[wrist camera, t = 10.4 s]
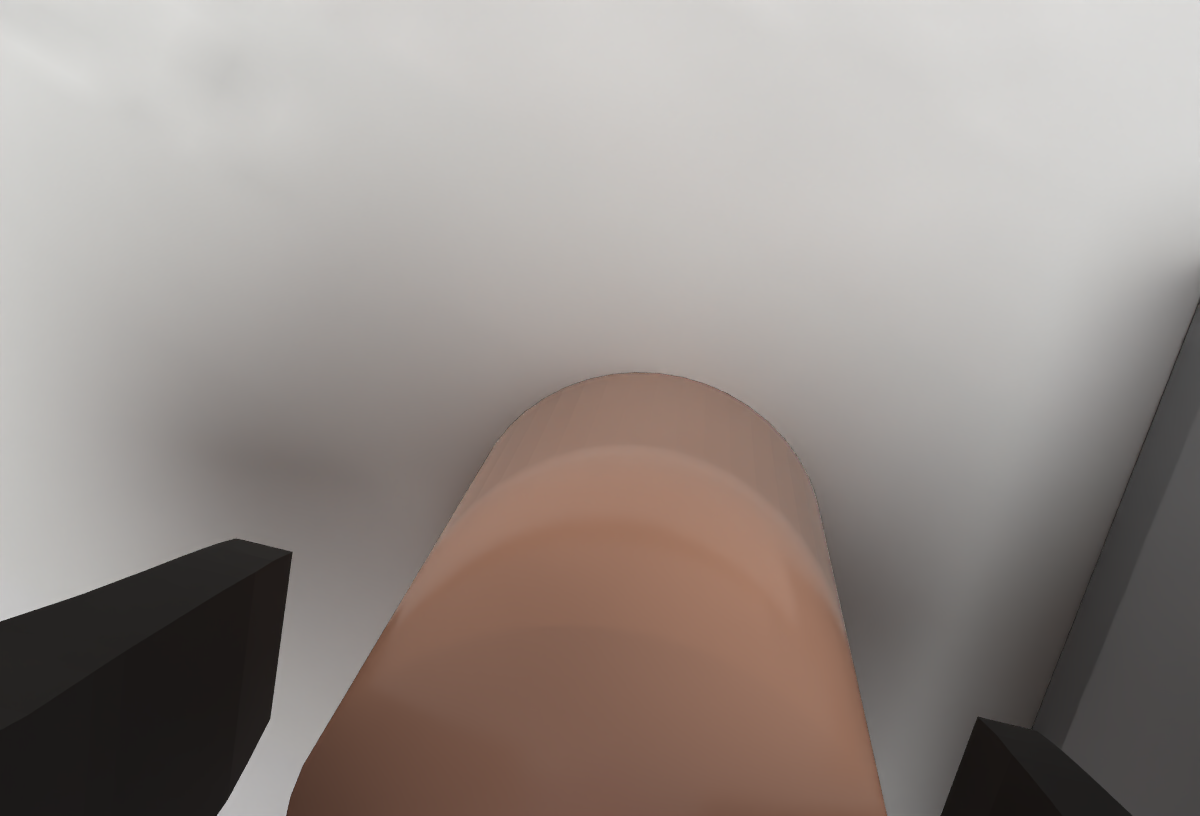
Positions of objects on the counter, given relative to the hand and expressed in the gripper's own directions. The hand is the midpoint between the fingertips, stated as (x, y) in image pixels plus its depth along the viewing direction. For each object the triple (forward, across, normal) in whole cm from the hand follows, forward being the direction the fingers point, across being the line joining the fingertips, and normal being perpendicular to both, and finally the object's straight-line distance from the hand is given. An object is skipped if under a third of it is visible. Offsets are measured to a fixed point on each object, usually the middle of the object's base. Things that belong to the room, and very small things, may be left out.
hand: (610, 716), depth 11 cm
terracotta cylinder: (+4, 0, 0) cm, 4 cm away
